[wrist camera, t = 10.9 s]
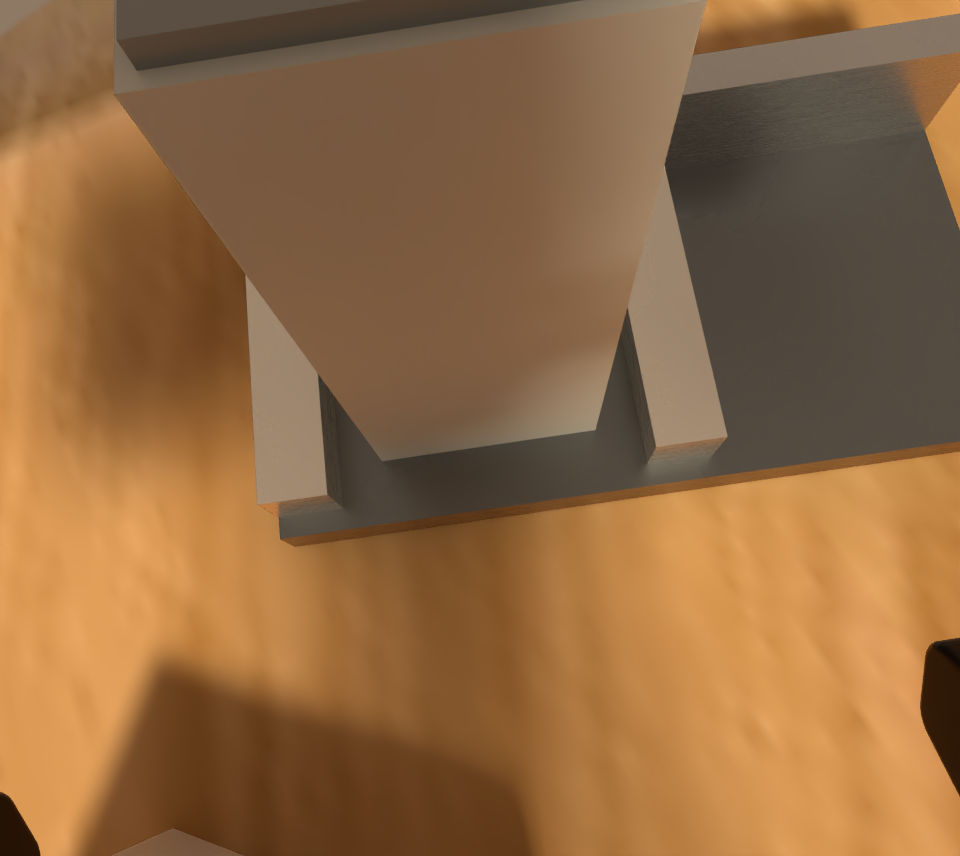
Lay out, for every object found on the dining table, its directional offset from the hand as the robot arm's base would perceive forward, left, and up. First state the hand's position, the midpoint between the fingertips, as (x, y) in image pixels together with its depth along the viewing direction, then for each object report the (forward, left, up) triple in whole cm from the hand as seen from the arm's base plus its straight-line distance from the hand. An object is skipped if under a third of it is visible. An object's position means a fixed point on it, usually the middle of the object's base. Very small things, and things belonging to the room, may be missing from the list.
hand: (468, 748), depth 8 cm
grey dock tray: (+7, -7, -11) cm, 14 cm away
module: (+7, -3, -10) cm, 13 cm away
